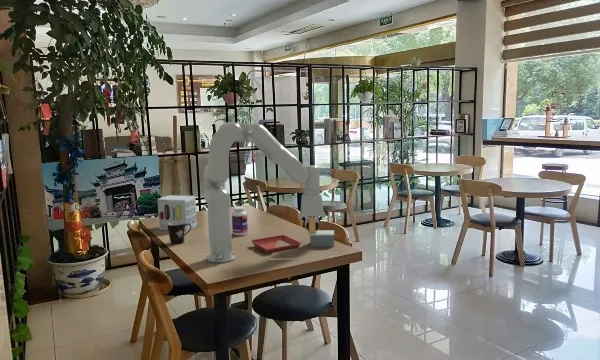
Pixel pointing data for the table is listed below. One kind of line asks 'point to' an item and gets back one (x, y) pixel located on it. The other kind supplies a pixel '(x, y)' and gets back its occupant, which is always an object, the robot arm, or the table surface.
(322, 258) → the table surface
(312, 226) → the white tan l-shaped piece
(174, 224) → the coffee mug
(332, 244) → the tub
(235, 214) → the pill bottle
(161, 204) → the supplement box
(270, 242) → the plant saucer
